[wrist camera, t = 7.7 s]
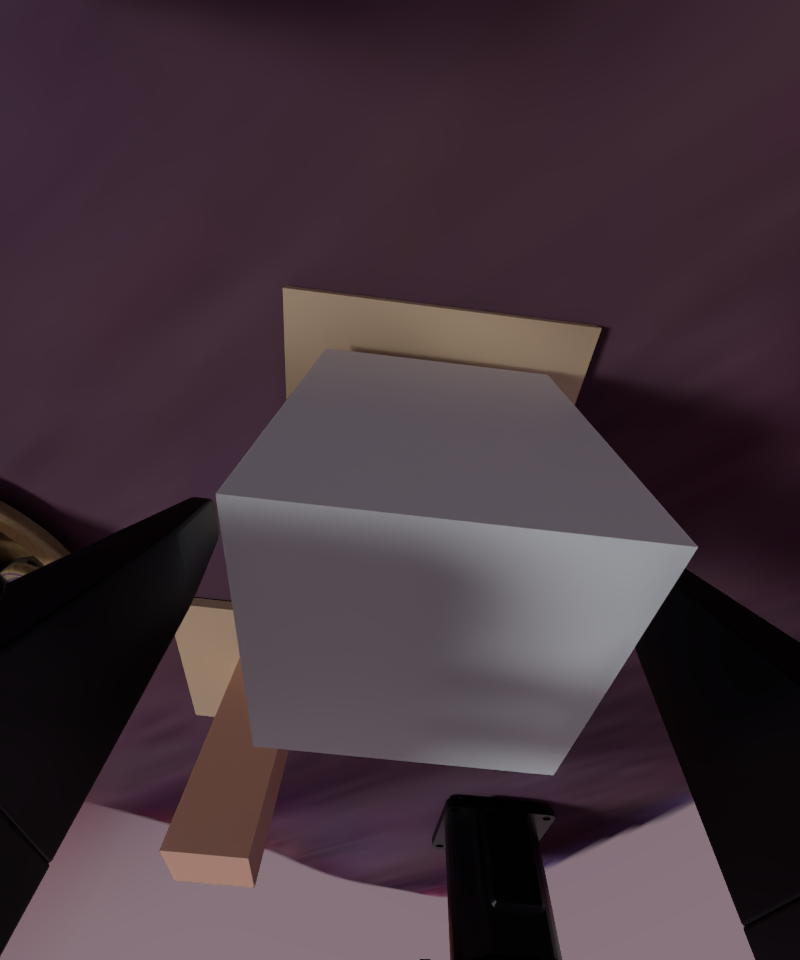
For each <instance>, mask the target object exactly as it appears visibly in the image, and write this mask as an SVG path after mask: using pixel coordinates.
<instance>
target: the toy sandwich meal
mask: <svg viewBox="0 0 800 960" xmlns="http://www.w3.org/2000/svg"><path fill="white" fill-rule="evenodd" d="M68 554H70V552H69V551H68V550H67V549H66V548H65V547H64V546H63V545H62V544H61V543H60V542H59V541H58V540H57V539H56V538H54V537H53V536H52V535H51V534H50V533H48V532H47V531H46V530H45V529H43V528H42V527H41V526H39V525H38V524H37V523H35V522H34V521H32V520H31V519H29V518H28V517H27V516H25V515H24V514H22V513H21V512H19V511H17V510H16V509H14V508H12V507H11V506H9V505H7V504H6V503H4V502H2V501H0V586H2V587H4V585H5V584H6V583H8V582H10V581H12V580H14V579H16V578H19V577H21V576H23V575H25V574H27V573H29V572H32V571H34V570H36V569H38V568H40V567H42V566H45V565H47V564H49V563H51V562H53V561H55V560H57V559H60V558H62V557H64V556H66V555H68Z"/></svg>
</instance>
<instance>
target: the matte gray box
mask: <svg viewBox="0 0 800 960" xmlns="http://www.w3.org/2000/svg"><path fill="white" fill-rule="evenodd" d="M216 501H217V507H218V514H219V521H220V527H221V534H222V541H223V547H224V554H225V561H226V567H227V574H228V581H229V587H230V594H231V601H232V607H233V614H234V621H235V627H236V634H237V641H238V647H239V654H240V661H241V667H242V674H243V681H244V687H245V694H246V701H247V707H248V714H249V721H250V727H251V734H252V741H253V746H254V747H265V748H275V749H285V750H296V751H306V752H317V753H327V754H337V755H348V756H358V757H368V758H379V759H389V760H400V761H410V762H420V763H431V764H441V765H451V766H462V767H472V768H482V769H493V770H503V771H514V772H524V773H534V774H545V775H554V774H555V772H556V771H557V769H558V767H559V766H560V764H561V763H562V761H563V759H564V758H565V756H566V755H567V753H568V752H569V750H570V748H571V747H572V745H573V744H574V742H575V741H576V739H577V737H578V736H579V734H580V733H581V731H582V730H583V728H584V726H585V725H586V723H587V722H588V720H589V719H590V717H591V715H592V714H593V712H594V711H595V709H596V708H597V706H598V704H599V703H600V701H601V700H602V698H603V696H604V695H605V693H606V692H607V690H608V689H609V687H610V685H611V684H612V682H613V681H614V679H615V678H616V676H617V674H618V673H619V671H620V670H621V668H622V667H623V665H624V663H625V662H626V660H627V659H628V657H629V656H630V654H631V652H632V651H633V649H634V648H635V646H636V644H637V643H638V641H639V640H640V638H641V637H642V635H643V633H644V632H645V630H646V629H647V627H648V626H649V624H650V622H651V621H652V619H653V618H654V616H655V615H656V613H657V611H658V610H659V608H660V607H661V605H662V604H663V602H664V600H665V599H666V597H667V596H668V594H669V593H670V591H671V589H672V588H673V586H674V585H675V583H676V581H677V580H678V578H679V577H680V575H681V574H682V572H683V570H684V569H685V567H686V566H687V564H688V563H689V561H690V559H691V558H692V556H693V555H694V553H695V552H696V550H697V548H698V546H697V545H696V544H695V543H694V542H693V541H692V539H691V538H690V537H689V536H688V535H687V534H686V533H685V531H684V530H683V529H682V528H681V527H680V526H679V525H678V523H677V522H676V521H675V520H674V519H673V518H672V517H671V515H670V514H669V513H668V512H667V511H666V510H665V509H664V507H663V506H662V505H661V504H660V503H659V502H658V501H657V499H656V498H655V497H654V496H653V495H652V494H651V493H650V491H649V490H648V489H647V488H646V487H645V486H644V485H643V483H642V482H641V481H640V480H639V479H638V478H637V476H636V475H635V474H634V473H633V472H632V471H631V470H630V468H629V467H628V466H627V465H626V464H625V463H624V462H623V460H622V459H621V458H620V457H619V456H618V455H617V454H616V452H615V451H614V450H613V449H612V448H611V447H610V446H609V444H608V443H607V442H606V441H605V440H604V439H603V438H602V436H601V435H600V434H599V433H598V432H597V431H596V430H595V428H594V427H593V426H592V425H591V424H590V423H589V422H588V420H587V419H586V418H585V417H584V416H583V415H582V414H581V412H580V411H579V410H578V409H577V408H576V407H575V405H574V404H573V403H572V402H571V401H570V400H569V399H568V397H567V396H566V395H565V394H564V393H563V392H562V391H561V389H560V388H559V387H558V386H557V385H556V384H555V383H554V381H553V380H552V379H551V378H550V377H549V376H548V375H545V374H537V373H529V372H520V371H512V370H504V369H495V368H487V367H479V366H470V365H462V364H454V363H445V362H437V361H429V360H420V359H412V358H404V357H395V356H387V355H379V354H370V353H362V352H354V351H345V350H337V349H329V348H326V349H325V350H324V352H323V353H322V354H321V356H320V357H319V358H318V360H317V361H316V362H315V364H314V365H313V366H312V368H311V369H310V370H309V371H308V373H307V374H306V375H305V377H304V378H303V379H302V381H301V382H300V383H299V385H298V386H297V387H296V389H295V390H294V391H293V393H292V394H291V395H290V396H289V398H288V399H287V400H286V402H285V403H284V404H283V406H282V407H281V408H280V410H279V411H278V412H277V414H276V415H275V416H274V417H273V419H272V420H271V421H270V423H269V424H268V425H267V427H266V428H265V429H264V431H263V432H262V433H261V435H260V436H259V437H258V439H257V440H256V441H255V442H254V444H253V445H252V446H251V448H250V449H249V450H248V452H247V453H246V454H245V456H244V457H243V458H242V460H241V461H240V462H239V463H238V465H237V466H236V467H235V469H234V470H233V471H232V473H231V474H230V475H229V477H228V478H227V479H226V481H225V482H224V483H223V484H222V486H221V487H220V488H219V490H218V491H217V492H216Z"/></svg>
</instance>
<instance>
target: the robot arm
mask: <svg viewBox="0 0 800 960" xmlns="http://www.w3.org/2000/svg"><path fill="white" fill-rule="evenodd" d="M218 536H219V528H218V521H217V514H216V507H215V503H214V501H213V500H211V499H207V498H199V497H191V498H189V499H187V500H185V501H183V502H180V503H178V504H176V505H174V506H172V507H170V508H167V509H165V510H163V511H161V512H159V513H157V514H155V515H152V516H150V517H148V518H146V519H144V520H142V521H139V522H137V523H135V524H133V525H131V526H129V527H127V528H124V529H122V530H120V531H118V532H116V533H114V534H111V535H109V536H107V537H105V538H103V539H101V540H98V541H96V542H94V543H92V544H90V545H88V546H86V547H83V548H81V549H79V550H77V551H75V552H73V553H70V554H68V555H66V556H64V557H62V558H60V559H57V560H55V561H53V562H51V563H49V564H47V565H45V566H42V567H40V568H38V569H36V570H34V571H32V572H29V573H27V574H25V575H23V576H21V577H19V578H16V579H14V580H12V581H10V582H8V583H6V584H5V585H4V587H2V586H0V956H1V954H2V952H3V950H4V948H5V947H6V945H7V943H8V941H9V939H10V937H11V936H12V934H13V932H14V930H15V928H16V926H17V925H18V923H19V921H20V919H21V917H22V915H23V913H24V912H25V910H26V908H27V906H28V904H29V903H30V901H31V899H32V897H33V895H34V893H35V892H36V890H37V888H38V886H39V884H40V882H41V880H42V879H43V877H44V875H45V873H46V871H47V870H48V868H49V864H48V863H49V862H51V861H52V860H53V858H54V856H55V854H56V852H57V850H58V849H59V847H60V845H61V843H62V841H63V839H64V838H65V836H66V834H67V832H68V830H69V828H70V826H71V825H72V823H73V821H74V819H75V817H76V815H77V814H78V812H79V810H80V808H81V806H82V805H83V803H84V801H85V799H86V797H87V795H88V794H89V792H90V790H91V788H92V786H93V784H94V783H95V781H96V779H97V777H98V775H99V773H100V772H101V770H102V768H103V766H104V764H105V762H106V761H107V759H108V757H109V755H110V753H111V751H112V750H113V748H114V746H115V744H116V742H117V740H118V739H119V737H120V735H121V733H122V731H123V729H124V728H125V726H126V724H127V722H128V720H129V718H130V716H131V715H132V713H133V711H134V709H135V707H136V705H137V704H138V702H139V700H140V698H141V696H142V694H143V693H144V691H145V689H146V687H147V685H148V683H149V682H150V680H151V678H152V676H153V674H154V672H155V671H156V669H157V667H158V665H159V663H160V661H161V660H162V658H163V656H164V654H165V652H166V650H167V649H168V647H169V645H170V643H171V641H172V639H173V638H174V636H175V634H176V632H177V630H178V628H179V627H180V625H181V623H182V621H183V619H184V617H185V616H186V614H187V612H188V610H189V608H190V606H191V604H192V602H193V599H194V597H195V595H196V593H197V590H198V588H199V585H200V583H201V580H202V578H203V575H204V573H205V570H206V568H207V565H208V563H209V560H210V558H211V555H212V553H213V550H214V548H215V545H216V543H217V540H218ZM635 649H636V652H637V655H638V657H639V660H640V663H641V665H642V668H643V671H644V673H645V676H646V678H647V681H648V683H649V686H650V689H651V691H652V694H653V696H654V699H655V702H656V704H657V707H658V709H659V712H660V714H661V717H662V720H663V722H664V725H665V727H666V730H667V732H668V735H669V738H670V740H671V743H672V745H673V748H674V750H675V753H676V756H677V758H678V761H679V763H680V766H681V768H682V771H683V774H684V776H685V779H686V781H687V784H688V787H689V789H690V792H691V794H692V797H693V799H694V802H695V805H696V807H697V810H698V812H699V815H700V817H701V820H702V823H703V825H704V828H705V830H706V833H707V835H708V838H709V841H710V843H711V846H712V848H713V851H714V854H715V856H716V859H717V861H718V864H719V866H720V869H721V872H722V874H723V876H724V879H725V882H726V884H727V887H728V890H729V892H730V894H731V897H732V900H733V902H734V905H735V908H736V910H737V913H738V915H739V918H740V920H741V923H742V924H743V925H744V926H745V927H744V931H745V934H746V937H747V939H748V942H749V945H750V947H751V949H752V952H753V954H754V957H755V960H800V642H798V641H797V640H795V639H793V638H792V637H790V636H789V635H787V634H786V633H784V632H783V631H781V630H780V629H778V628H776V627H775V626H773V625H772V624H770V623H769V622H767V621H766V620H764V619H763V618H761V617H759V616H758V615H756V614H755V613H753V612H752V611H750V610H749V609H747V608H746V607H744V606H742V605H741V604H739V603H738V602H736V601H735V600H733V599H732V598H730V597H729V596H727V595H725V594H724V593H722V592H721V591H719V590H718V589H716V588H715V587H713V586H712V585H710V584H708V583H707V582H705V581H704V580H702V579H701V578H699V577H698V576H696V575H695V574H693V573H691V572H690V571H688V570H687V569H684V570H683V572H682V574H681V575H680V577H679V578H678V580H677V581H676V583H675V585H674V586H673V588H672V589H671V591H670V593H669V594H668V596H667V597H666V599H665V600H664V602H663V604H662V605H661V607H660V608H659V610H658V611H657V613H656V615H655V616H654V618H653V619H652V621H651V622H650V624H649V626H648V627H647V629H646V630H645V632H644V633H643V635H642V637H641V638H640V640H639V641H638V643H637V644H636V646H635ZM554 820H555V815H554V811H553V809H552V808H549V807H540V806H530V805H520V804H509V803H499V802H488V801H478V800H468V799H457V798H452V799H448V800H447V801H446V803H445V806H444V808H443V811H442V813H441V816H440V819H439V821H438V824H437V826H436V829H435V832H434V834H433V837H432V846H433V847H434V848H437V849H445V850H446V872H447V895H448V918H449V940H450V960H562V956H561V951H560V946H559V942H558V936H557V931H556V926H555V921H554V916H553V910H552V905H551V900H550V895H549V890H548V885H547V880H546V875H545V870H544V864H543V859H542V854H541V849H540V844H539V841H540V839H541V838H542V837H543V835H544V834H545V832H546V831H547V830H548V828H549V827H550V826H551V824H552V823H553V822H554ZM420 960H430V959H420Z"/></svg>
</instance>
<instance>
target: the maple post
mask: <svg viewBox="0 0 800 960" xmlns="http://www.w3.org/2000/svg"><path fill="white" fill-rule="evenodd" d="M283 310H284V340H285V371H286V400H287V399H288V398H289V396H290V395H291V394H292V393H293V391H294V390H295V389H296V387H297V386H298V385H299V383H300V382H301V381H302V379H303V378H304V377H305V375H306V374H307V373H308V371H309V370H310V369H311V368H312V366H313V365H314V364H315V362H316V361H317V360H318V358H319V357H320V356H321V354H322V353H323V352H324V350H325V349H326V348H329V349H337V350H345V351H354V352H362V353H370V354H379V355H387V356H395V357H404V358H412V359H420V360H429V361H437V362H445V363H454V364H462V365H470V366H479V367H487V368H495V369H504V370H512V371H520V372H529V373H537V374H545V375H548V376H549V377H550V378H551V379H552V380H553V381H554V383H555V384H556V385H557V386H558V387H559V388H560V389H561V391H562V392H563V393H564V394H565V395H566V396H567V397H568V399H569V400H570V401H571V402H572V403H573V404H574V405H575V403H576V400H577V397H578V394H579V391H580V389H581V386H582V383H583V380H584V377H585V374H586V372H587V369H588V366H589V363H590V360H591V357H592V355H593V352H594V349H595V346H596V343H597V340H598V338H599V335H600V332H601V329H602V328H600V327H598V326H597V325H591V324H583V323H575V322H567V321H559V320H551V319H544V318H536V317H528V316H520V315H512V314H504V313H497V312H489V311H481V310H473V309H465V308H457V307H449V306H442V305H434V304H426V303H418V302H410V301H402V300H395V299H387V298H379V297H371V296H363V295H355V294H348V293H340V292H332V291H324V290H316V289H308V288H300V287H293V286H286V287H283Z"/></svg>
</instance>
